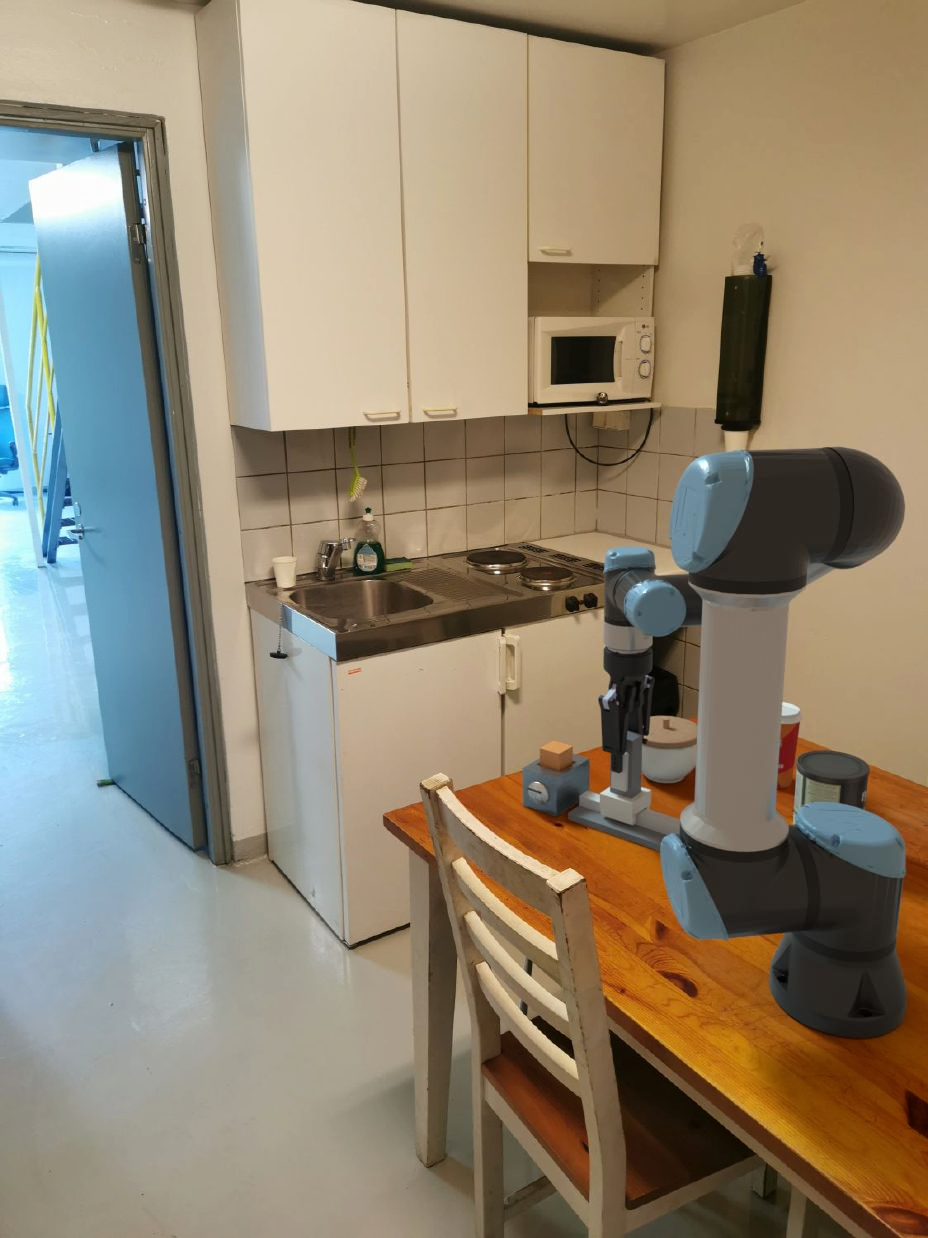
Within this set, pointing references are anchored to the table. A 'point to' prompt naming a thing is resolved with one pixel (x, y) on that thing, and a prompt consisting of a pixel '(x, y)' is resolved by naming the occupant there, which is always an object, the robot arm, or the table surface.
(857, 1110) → the table surface
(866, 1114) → the table surface
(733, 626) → the robot arm
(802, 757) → the coffee can
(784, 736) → the paper cup
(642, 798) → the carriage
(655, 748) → the lidded bowl
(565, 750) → the button
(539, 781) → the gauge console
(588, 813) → the rail bed
